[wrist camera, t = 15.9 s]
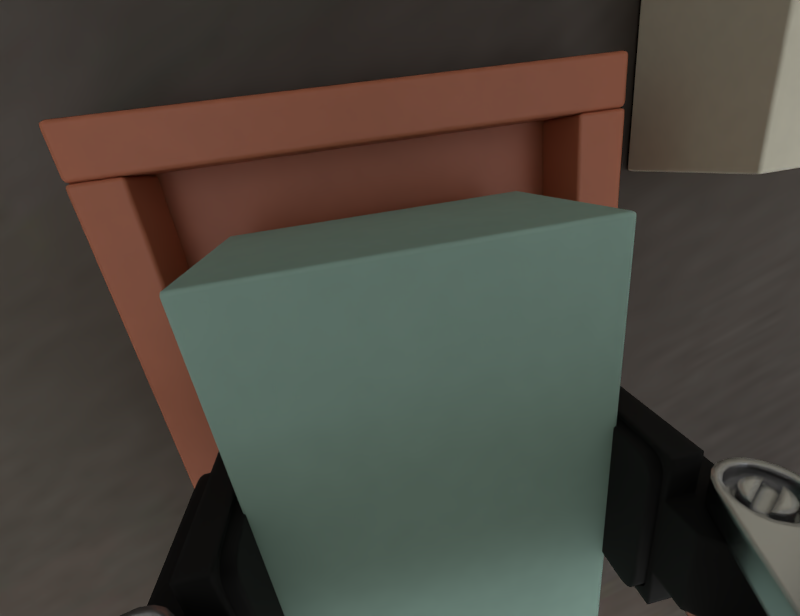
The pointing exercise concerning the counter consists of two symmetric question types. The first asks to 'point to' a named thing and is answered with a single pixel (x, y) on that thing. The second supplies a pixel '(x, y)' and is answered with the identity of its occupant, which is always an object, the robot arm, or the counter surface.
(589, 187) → the holder
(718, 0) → the pad top
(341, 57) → the counter surface
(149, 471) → the counter surface
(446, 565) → the pad base
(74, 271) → the counter surface
